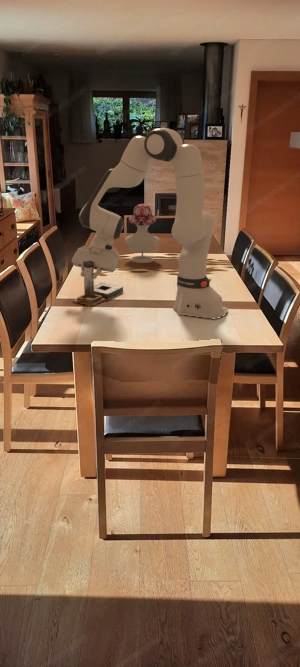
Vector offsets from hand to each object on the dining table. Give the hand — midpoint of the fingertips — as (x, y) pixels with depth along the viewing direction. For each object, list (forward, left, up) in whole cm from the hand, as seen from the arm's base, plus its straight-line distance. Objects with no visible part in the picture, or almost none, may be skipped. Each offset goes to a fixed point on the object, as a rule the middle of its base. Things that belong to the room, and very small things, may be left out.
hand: (87, 276), depth 210 cm
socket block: (+1, -13, -11) cm, 17 cm away
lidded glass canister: (0, -1, -8) cm, 8 cm away
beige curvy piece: (+19, -74, -11) cm, 77 cm away
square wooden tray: (0, -1, -11) cm, 11 cm away
